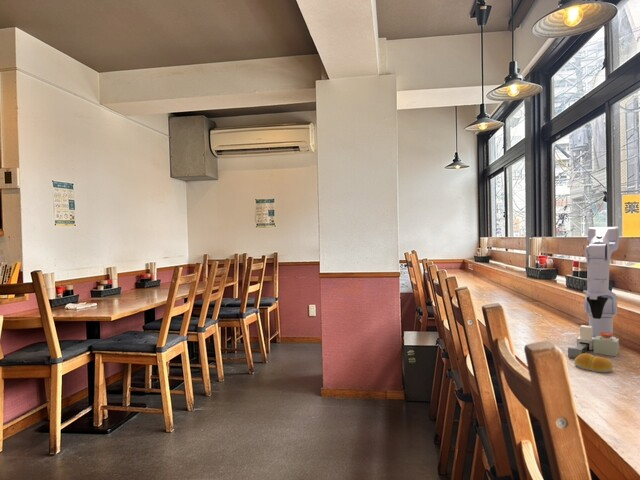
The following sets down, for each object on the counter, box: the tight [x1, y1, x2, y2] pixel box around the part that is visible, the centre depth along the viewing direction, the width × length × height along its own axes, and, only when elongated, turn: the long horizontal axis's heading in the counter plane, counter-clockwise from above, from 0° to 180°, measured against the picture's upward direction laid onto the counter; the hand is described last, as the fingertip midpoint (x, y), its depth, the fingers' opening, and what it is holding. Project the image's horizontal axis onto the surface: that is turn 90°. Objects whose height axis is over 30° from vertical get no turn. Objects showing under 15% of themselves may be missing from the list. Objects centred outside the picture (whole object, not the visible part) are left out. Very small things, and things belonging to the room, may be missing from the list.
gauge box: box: [593, 336, 620, 357], centre depth 132 cm, size 6×6×4 cm
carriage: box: [576, 324, 594, 351], centre depth 138 cm, size 6×4×7 cm
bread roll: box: [573, 352, 614, 373], centre depth 116 cm, size 8×9×4 cm
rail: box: [567, 336, 595, 359], centre depth 134 cm, size 24×4×3 cm, turn 137°
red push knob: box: [600, 332, 614, 340], centre depth 132 cm, size 3×3×5 cm
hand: (596, 318), depth 139 cm, fingers closed
